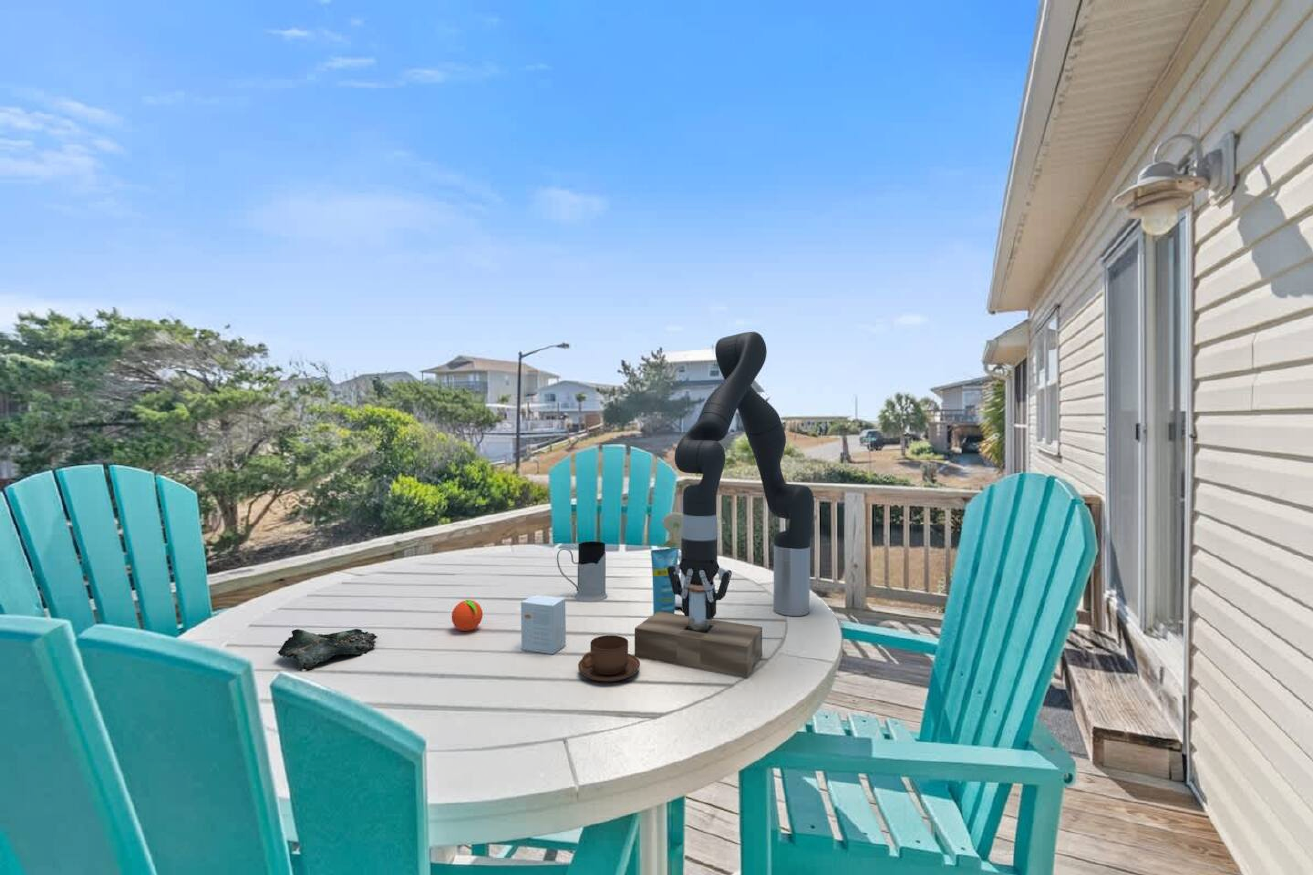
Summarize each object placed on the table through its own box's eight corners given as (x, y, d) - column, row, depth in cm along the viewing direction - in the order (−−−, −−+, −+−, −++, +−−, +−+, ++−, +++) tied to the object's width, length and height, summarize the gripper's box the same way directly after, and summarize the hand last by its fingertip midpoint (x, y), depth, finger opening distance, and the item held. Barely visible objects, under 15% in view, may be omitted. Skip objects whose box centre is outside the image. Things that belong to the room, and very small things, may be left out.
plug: (691, 644, 121) (692, 578, 121) (713, 648, 119) (713, 581, 119) (683, 652, 117) (684, 584, 117) (705, 656, 115) (706, 587, 115)
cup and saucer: (615, 693, 102) (616, 659, 102) (565, 677, 108) (565, 645, 108) (651, 669, 112) (651, 638, 112) (603, 656, 118) (603, 626, 118)
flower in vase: (713, 602, 154) (713, 511, 154) (693, 614, 145) (693, 517, 144) (672, 595, 161) (672, 508, 161) (650, 605, 152) (651, 512, 151)
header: (657, 637, 129) (658, 611, 128) (761, 655, 119) (762, 627, 119) (634, 656, 118) (634, 628, 118) (746, 678, 108) (747, 647, 108)
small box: (566, 645, 124) (566, 597, 123) (553, 655, 118) (553, 605, 118) (534, 640, 126) (534, 594, 126) (520, 650, 121) (520, 601, 121)
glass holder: (605, 602, 155) (605, 547, 154) (553, 601, 155) (553, 547, 154) (608, 592, 163) (608, 541, 163) (559, 592, 163) (559, 540, 163)
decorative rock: (349, 614, 132) (396, 619, 126) (349, 641, 131) (396, 647, 125) (265, 636, 114) (315, 642, 108) (264, 667, 114) (314, 675, 108)
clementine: (490, 631, 132) (490, 600, 132) (463, 639, 127) (463, 607, 127) (473, 622, 137) (473, 593, 137) (446, 630, 132) (446, 600, 132)
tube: (656, 634, 130) (657, 551, 130) (645, 628, 135) (646, 547, 134) (682, 628, 135) (683, 548, 134) (671, 622, 139) (671, 544, 138)
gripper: (737, 535, 118) (736, 616, 119) (674, 529, 124) (673, 607, 124) (727, 541, 112) (726, 627, 112) (660, 535, 117) (660, 617, 117)
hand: (698, 616), depth 118 cm, fingers closed on plug, 4 cm apart
